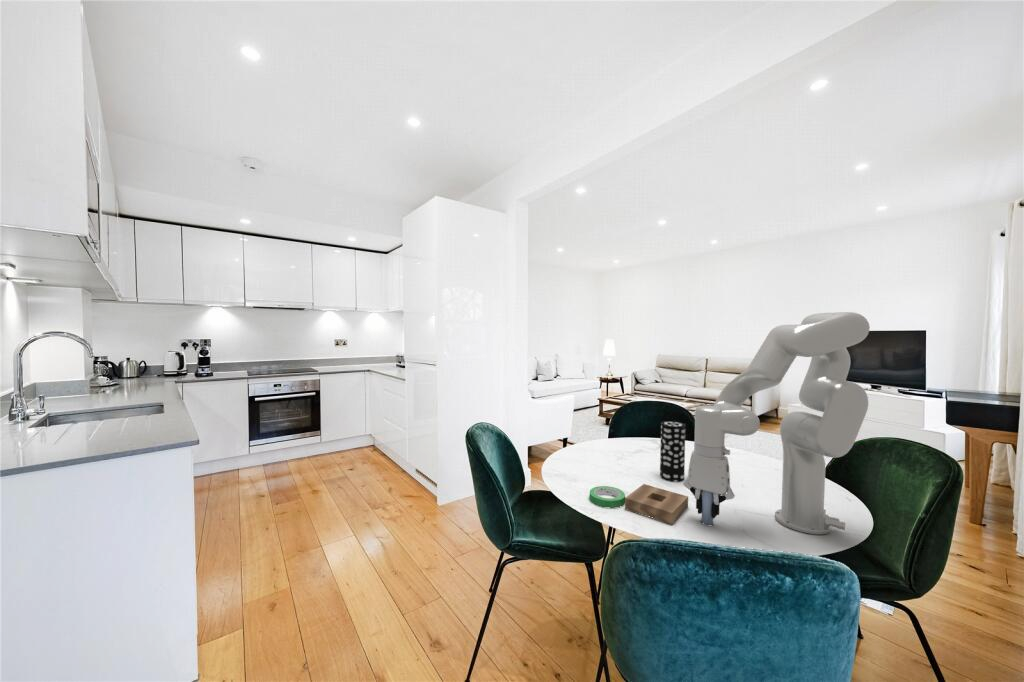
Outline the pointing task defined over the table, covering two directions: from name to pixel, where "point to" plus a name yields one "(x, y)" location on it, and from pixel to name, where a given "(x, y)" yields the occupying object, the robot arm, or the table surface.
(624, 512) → the table surface
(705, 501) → the peg
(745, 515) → the table surface
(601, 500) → the tape roll
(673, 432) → the white-spotted black cylinder
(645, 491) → the block
